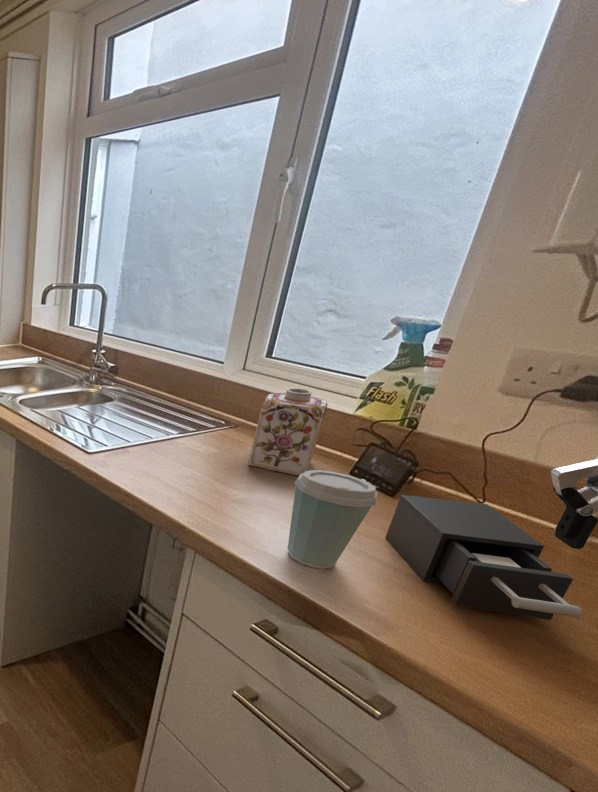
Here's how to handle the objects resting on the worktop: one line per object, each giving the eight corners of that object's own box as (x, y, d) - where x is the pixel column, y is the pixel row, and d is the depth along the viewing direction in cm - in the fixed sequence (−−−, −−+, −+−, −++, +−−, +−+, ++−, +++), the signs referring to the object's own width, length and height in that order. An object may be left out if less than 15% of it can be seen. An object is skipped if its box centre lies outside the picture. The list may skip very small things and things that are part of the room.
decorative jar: (311, 462, 125) (333, 388, 118) (306, 478, 117) (329, 400, 110) (254, 450, 132) (271, 381, 125) (245, 465, 124) (263, 391, 117)
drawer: (585, 651, 66) (611, 607, 64) (481, 633, 70) (502, 591, 67) (494, 570, 83) (512, 532, 80) (413, 558, 86) (428, 522, 83)
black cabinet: (519, 595, 78) (544, 546, 75) (423, 580, 82) (443, 533, 79) (467, 548, 90) (487, 504, 87) (385, 537, 94) (401, 494, 90)
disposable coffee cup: (272, 536, 95) (294, 460, 89) (346, 551, 90) (373, 471, 84) (277, 567, 86) (302, 484, 80) (359, 584, 81) (391, 498, 75)
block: (516, 600, 74) (497, 582, 78) (530, 574, 72) (509, 557, 76) (477, 594, 75) (460, 577, 79) (489, 569, 74) (471, 552, 78)
